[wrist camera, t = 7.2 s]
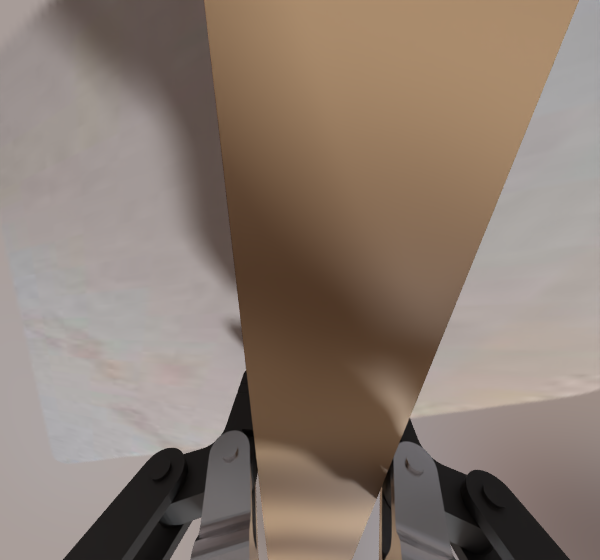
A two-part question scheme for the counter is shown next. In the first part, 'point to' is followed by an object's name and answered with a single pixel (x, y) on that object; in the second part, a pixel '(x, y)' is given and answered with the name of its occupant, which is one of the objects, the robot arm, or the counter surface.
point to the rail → (359, 220)
